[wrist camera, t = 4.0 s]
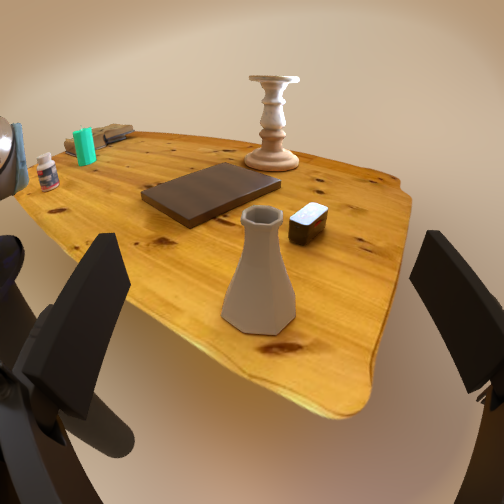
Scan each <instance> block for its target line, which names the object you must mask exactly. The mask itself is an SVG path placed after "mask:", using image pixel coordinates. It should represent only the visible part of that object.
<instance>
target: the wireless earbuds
mask: <svg viewBox="0 0 504 504" xmlns="http://www.w3.org/2000/svg"><path fill="white" fill-rule="evenodd" d="M327 213H328V208H327V207H326V206H323V205H320V204H317V203H309V204H308V205H306V206H305V207H304V208H302V209H301V210H299V211H298V212H297V213H295V214H294V215H292V216H291V217H290V221H289V232H288V238H289V240H290V241H292V242H295V243H297V244H300V245H303V246H304V245H306V244H308V243H309V242H310V241H311V240H312V239H313V238H314V237H315V236H316V235H317V234H318V233H319V232H321V231H322V230H323V229H324V228H325V226H326V220H327Z"/></svg>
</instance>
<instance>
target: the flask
mask: <svg viewBox="0 0 504 504" xmlns="http://www.w3.org/2000/svg"><path fill="white" fill-rule="evenodd" d="M282 222H283V211H281V210H279V209H276V208H274V207H271V206H263V205H253V206H251V207H249V208H247V209H245V210H243V212H242V216H241V224H242V225H243V226H244V227H245V242H244V248H243V252H242V255H241V258H240V260H239V263H238V265H237V268H236V271H235V273H234V275H233V278H232V280H231V282H230V285H229V287H228V289H227V292H226V295H225V299H224V303H223V308H222V312H221V317H223V318H224V319H225V320H227V321H228V322H229V323H231V324H232V325H233V326H235V327H236V328H238V329H239V330H240V331H242V332H243V333H253V334H268V335H277V334H278V333H279V332H280V331H281V330H282V329H283V328H284V327H285V326H286V325H287V324H288V323H289V322H290V321H291V320H292V319H294V318H295V317H296V310H295V293H294V290H293V287H292V285H291V282H290V279H289V277H288V274H287V271H286V268H285V265H284V262H283V259H282V256H281V253H280V247H279V239H278V229H279V226H281V225H282Z"/></svg>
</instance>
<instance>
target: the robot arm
mask: <svg viewBox="0 0 504 504" xmlns="http://www.w3.org/2000/svg"><path fill="white" fill-rule="evenodd" d="M28 182H29V177H28V171H27V165H26V159H25V151H24V144H23V134H22V125H21V124H20V123H16V124H14V123H13V124H11V125H10V124H9V122H8V121H7V120H6V119H5V118H3V117H1V116H0V200H2V199H5V198H7V197H9V196H11V195H12V196H13V195H15V194H16V193H17V192H18V191H20V190H22V189H24V188H25V187H26V186H27V185H28ZM409 279H410V281H411V282H412V284H413V286H414V287H415V289H416V291H417V292H418V294H419V296H420V297H421V299H422V301H423V303H424V304H425V306H426V308H427V310H428V311H429V313H430V315H431V317H432V319H433V321H434V322H435V324H436V326H437V328H438V330H439V332H440V334H441V336H442V338H443V340H444V342H445V344H446V346H447V348H448V350H449V352H450V354H451V356H452V358H453V360H454V363H455V365H456V367H457V369H458V371H459V374H460V376H461V378H462V380H463V383H464V385H465V388H466V390H467V393H468V394H469V393H471V392H474V391H476V390H478V389H480V388H481V387H482V386H483V385H484V384H486V383H487V382H488V381H489V380H490V381H491V385H490V386H489V387H488V388H486V389H485V390H484V391H483V392H482V393H481V394H480V395H479V396H478V397H477V400H476V401H477V402H478V401H480V400H481V399H482V398H483V397H484V396H485V395H486V397H485V398H484V399H483V400H482V401H481V403H482V404H484V410H483V415H482V419H481V424H480V428H479V433H478V436H477V440H476V443H475V447H474V450H473V454H472V457H471V460H470V464H469V466H468V469H467V472H466V475H465V477H464V480H463V483H462V485H461V488H460V490H459V493H458V495H457V497H456V500H455V502H454V504H504V310H502V306H501V305H500V303H499V302H498V301H497V299H496V298H495V297H494V296H493V295H492V294H491V293H490V292H489V291H488V289H487V288H486V287H485V285H484V284H483V283H482V281H481V280H480V279H479V277H478V276H477V275H476V273H475V272H474V271H473V270H472V268H471V267H470V266H469V265H468V263H467V262H466V261H465V260H464V259H463V257H462V256H461V255H460V254H459V252H458V251H457V250H456V249H455V248H454V247H453V245H452V244H451V243H450V242H449V241H448V240H447V239H446V237H445V236H444V235H443V234H442V233H441V232H440V231H437V230H427V232H426V235H425V238H424V241H423V244H422V246H421V249H420V252H419V254H418V257H417V260H416V263H415V265H414V267H413V270H412V272H411V275H410V277H409ZM130 286H131V283H130V280H129V277H128V274H127V271H126V268H125V265H124V262H123V259H122V256H121V252H120V249H119V246H118V242H117V239H116V235H115V233H100V234H98V236H97V237H96V239H95V240H94V241H93V243H92V244H91V246H90V247H89V249H88V250H87V252H86V253H85V255H84V256H83V258H82V259H81V261H80V262H79V264H78V265H77V267H76V268H75V270H74V272H73V273H72V275H71V276H70V278H69V280H68V281H67V283H66V285H65V286H64V288H63V290H62V291H61V293H60V295H59V296H58V298H57V300H56V302H55V303H54V305H52V304H49V305H48V306H47V307H46V308H45V309H44V310H43V311H42V312H41V313H40V315H39V317H38V318H37V320H36V322H35V324H34V328H32V330H31V332H30V334H29V337H28V338H27V340H26V342H25V344H24V346H23V348H22V350H21V352H20V354H19V356H18V358H17V361H16V363H15V365H14V367H13V369H12V371H10V370H9V369H8V368H7V366H6V365H5V364H4V363H3V362H2V361H1V360H0V504H103V502H102V501H101V499H100V497H99V496H98V494H97V492H96V491H95V489H94V487H93V486H92V484H91V482H90V480H89V479H88V477H87V475H86V473H85V471H84V469H83V467H82V465H81V463H80V461H79V459H78V457H77V455H76V453H75V451H74V449H73V446H72V444H71V442H70V440H69V438H68V435H67V433H66V430H65V428H64V425H63V423H62V420H61V419H60V417H59V415H58V410H59V408H60V409H61V410H62V411H63V412H64V413H66V414H67V415H68V416H71V417H75V418H78V419H82V420H86V418H87V414H88V410H89V406H90V403H91V399H92V395H93V392H94V388H95V385H96V381H97V378H98V375H99V372H100V368H101V365H102V362H103V359H104V356H105V353H106V350H107V347H108V344H109V341H110V338H111V336H112V332H113V330H114V327H115V324H116V322H117V319H118V316H119V313H120V311H121V308H122V306H123V303H124V301H125V298H126V296H127V293H128V291H129V288H130Z"/></svg>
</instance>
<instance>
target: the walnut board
mask: <svg viewBox="0 0 504 504" xmlns="http://www.w3.org/2000/svg"><path fill="white" fill-rule="evenodd" d="M278 188H281V180H279V179H276V178H273V177H270V176H267V175H264V174H261V173H258V172H255V171H252V170H249V169H245V168H242V167H239V166H236V165H232V164H229V163H226V162H225V163H221V164H218V165H215V166H212V167H209V168H206V169H203V170H200V171H197V172H194V173H191V174H188V175H185V176H182V177H179V178H176V179H174V180H171V181H168V182H165V183H163V184H160V185H157V186H155V187H152V188H149V189H147V190H144V191H142V192H141V197H142V200H144V201H145V202H147V203H149V204H150V205H152V206H153V207H155V208H157V209H158V210H160V211H161V212H163V213H165V214H166V215H168V216H170V217H171V218H173V219H175V220H176V221H178V222H179V223H181V224H183V225H184V226H186V227H188V228H189V229H191V228H193V227H195V226H197V225H199V224H201V223H203V222H205V221H207V220H210V219H212V218H214V217H216V216H218V215H220V214H222V213H225V212H227V211H229V210H231V209H233V208H235V207H238V206H240V205H242V204H244V203H246V202H249V201H251V200H253V199H255V198H258V197H260V196H262V195H264V194H267V193H269V192H271V191H274V190H276V189H278Z"/></svg>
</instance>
